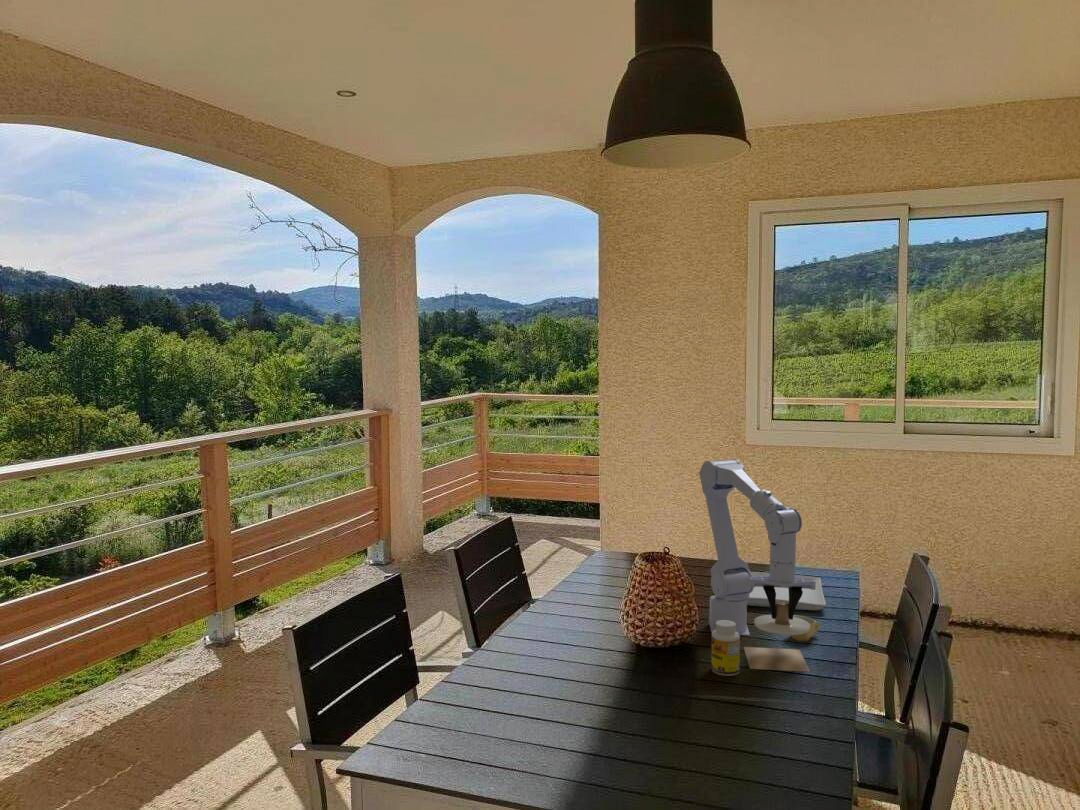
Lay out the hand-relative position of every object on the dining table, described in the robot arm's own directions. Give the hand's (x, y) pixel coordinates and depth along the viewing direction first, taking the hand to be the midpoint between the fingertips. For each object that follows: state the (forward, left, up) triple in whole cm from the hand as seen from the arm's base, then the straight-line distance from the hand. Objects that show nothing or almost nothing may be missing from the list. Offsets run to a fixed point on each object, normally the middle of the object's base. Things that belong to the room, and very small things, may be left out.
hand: (781, 617), depth 180 cm
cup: (+7, +12, -10) cm, 17 cm away
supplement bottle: (-14, -11, -10) cm, 20 cm away
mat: (-2, -3, -9) cm, 10 cm away
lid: (0, 0, -2) cm, 2 cm away
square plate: (+5, +47, -10) cm, 48 cm away
